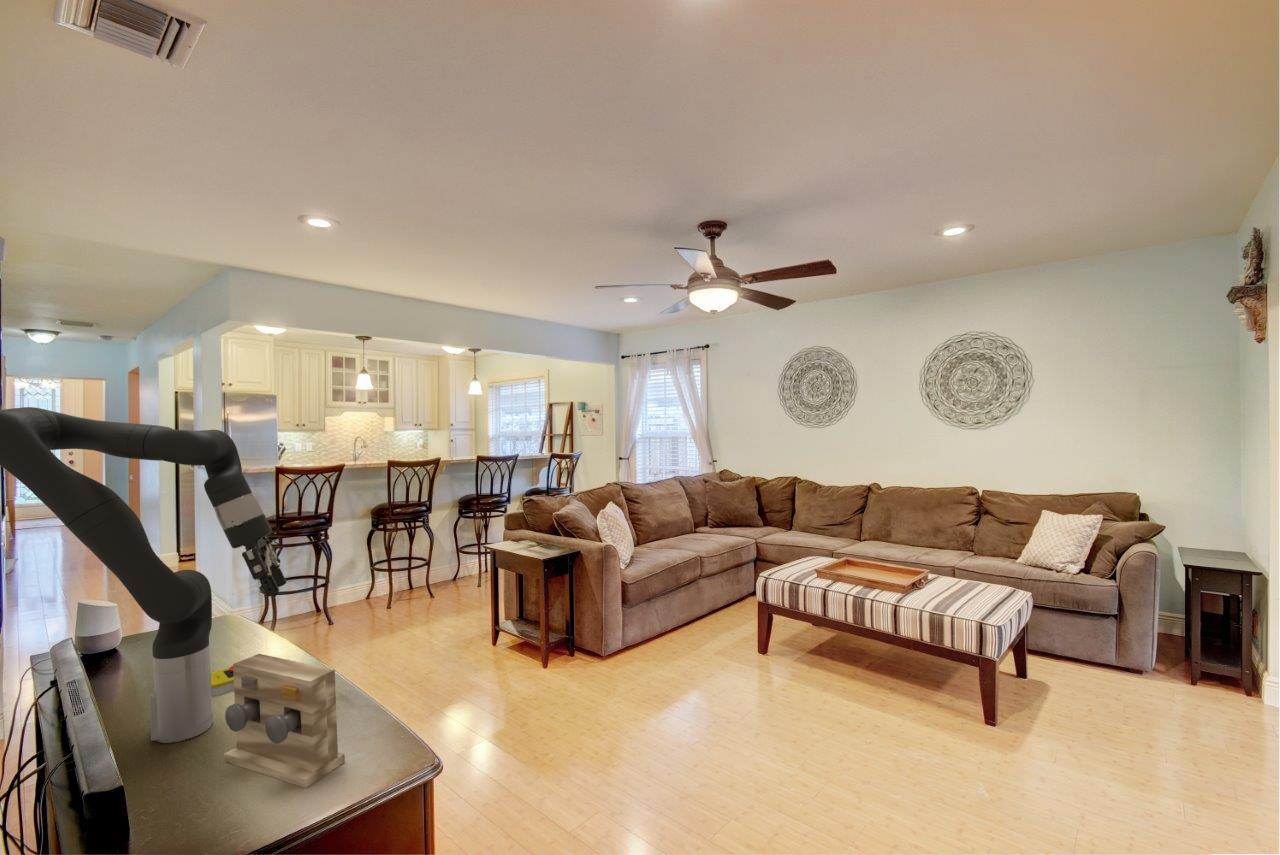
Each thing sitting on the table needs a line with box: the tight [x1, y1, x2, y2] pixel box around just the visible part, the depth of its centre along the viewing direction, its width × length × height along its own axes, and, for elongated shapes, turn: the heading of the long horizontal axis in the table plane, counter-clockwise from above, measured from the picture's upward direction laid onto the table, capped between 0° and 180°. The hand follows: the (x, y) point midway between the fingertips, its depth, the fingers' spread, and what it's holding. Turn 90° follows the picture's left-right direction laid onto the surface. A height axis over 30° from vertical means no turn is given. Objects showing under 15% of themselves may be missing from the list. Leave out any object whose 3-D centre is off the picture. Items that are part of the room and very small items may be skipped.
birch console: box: [223, 653, 346, 789], centre depth 109 cm, size 8×22×18 cm, turn 68°
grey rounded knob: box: [265, 710, 301, 744], centre depth 104 cm, size 4×5×5 cm
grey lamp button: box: [224, 700, 260, 733], centre depth 108 cm, size 4×5×5 cm
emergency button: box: [211, 665, 234, 698], centre depth 142 cm, size 9×4×15 cm
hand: (277, 590), depth 121 cm, fingers open, 8 cm apart
